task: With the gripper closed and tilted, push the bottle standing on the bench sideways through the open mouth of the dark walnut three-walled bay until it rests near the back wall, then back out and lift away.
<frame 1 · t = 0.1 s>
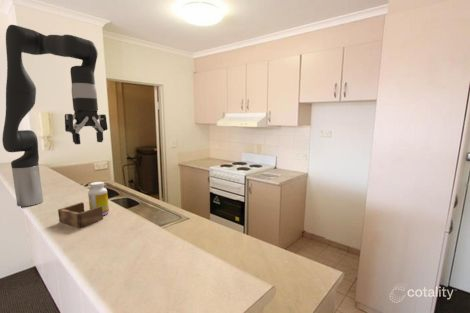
hand: (89, 143, 89), 29 cm above the countertop, tool pointing down, fingers open, 8 cm apart
supplement bottle: (100, 214, 98), on the countertop
walnut bay: (81, 220, 92), on the countertop
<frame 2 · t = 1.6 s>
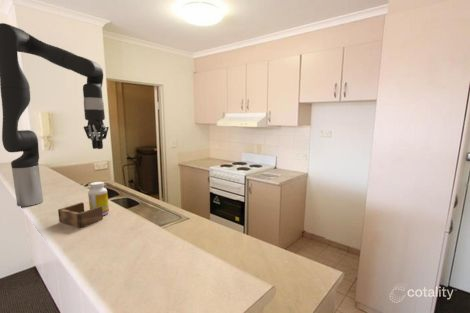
hand: (97, 148, 108), 25 cm above the countertop, tool pointing down, fingers closed
nothing on the countertop moved.
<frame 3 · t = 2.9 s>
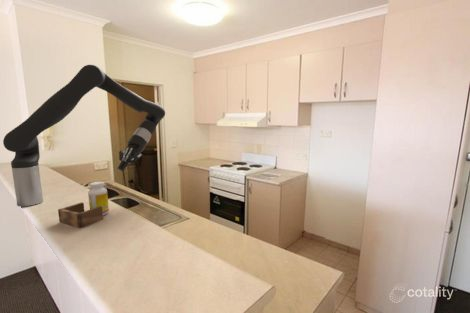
hand: (120, 169, 106), 16 cm above the countertop, tool tilted 45°, fingers closed
nothing on the countertop moved.
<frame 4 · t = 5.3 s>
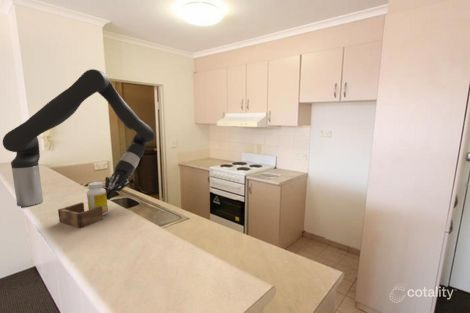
hand: (106, 198, 101), 5 cm above the countertop, tool tilted 45°, fingers closed
supplement bottle: (99, 214, 98), on the countertop, touching gripper
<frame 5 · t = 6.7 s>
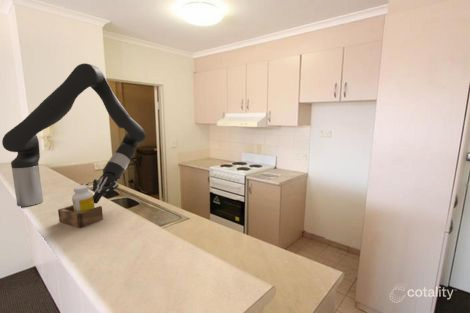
hand: (93, 202, 95), 6 cm above the countertop, tool tilted 45°, fingers closed
supplement bottle: (86, 219, 93), on the countertop, touching gripper
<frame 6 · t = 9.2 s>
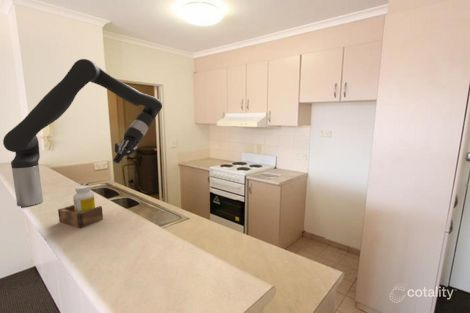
hand: (115, 162, 104), 20 cm above the countertop, tool tilted 45°, fingers closed
supplement bottle: (86, 220, 93), on the countertop
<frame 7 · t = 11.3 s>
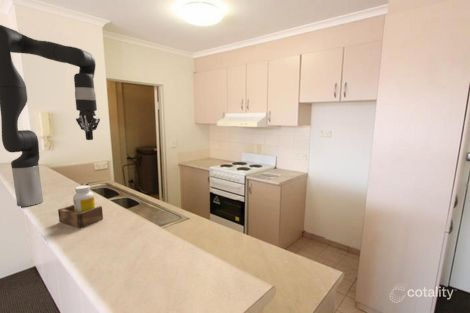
hand: (89, 139, 106), 29 cm above the countertop, tool pointing down, fingers closed
nothing on the countertop moved.
at the end: supplement bottle inside the target area on the walnut bay (1.6 cm from its centre), point 0.0 cm above the walnut bay's base; supplement bottle tilted 0° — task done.
